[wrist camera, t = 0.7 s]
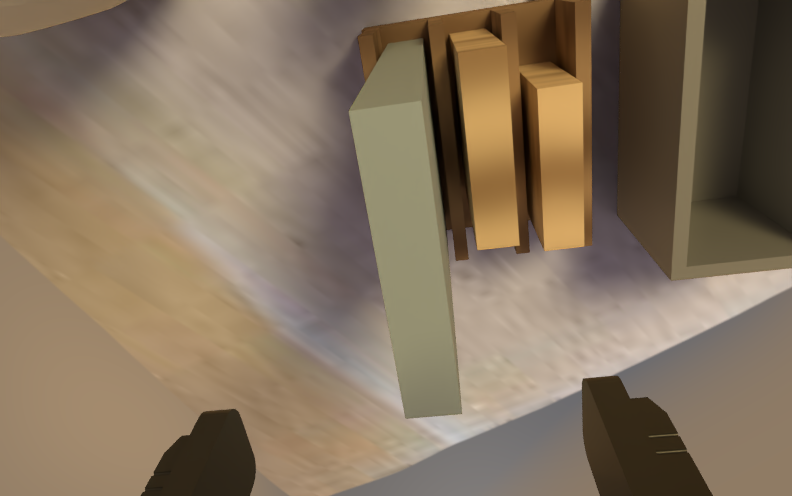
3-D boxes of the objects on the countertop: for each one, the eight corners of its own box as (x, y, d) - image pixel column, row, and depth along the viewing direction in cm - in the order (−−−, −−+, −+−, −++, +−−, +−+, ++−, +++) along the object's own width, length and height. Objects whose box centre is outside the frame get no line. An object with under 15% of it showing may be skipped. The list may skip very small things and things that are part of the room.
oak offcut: (449, 34, 35) (457, 53, 26) (485, 28, 34) (506, 45, 25) (465, 187, 39) (477, 250, 30) (497, 183, 39) (519, 245, 29)
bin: (621, -37, 34) (691, -43, 25) (770, -62, 33) (898, -77, 24) (617, 214, 41) (670, 280, 32) (740, 200, 40) (832, 263, 31)
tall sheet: (388, 43, 35) (348, 111, 17) (423, 37, 35) (420, 100, 17) (414, 220, 40) (405, 418, 22) (445, 216, 40) (462, 413, 22)
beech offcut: (514, 66, 35) (537, 89, 28) (550, 61, 35) (582, 82, 28) (522, 200, 39) (544, 251, 32) (554, 196, 39) (584, 246, 32)
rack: (364, 27, 36) (352, 37, 30) (566, -5, 35) (596, -1, 29) (396, 225, 42) (391, 268, 36) (570, 204, 41) (597, 244, 35)
